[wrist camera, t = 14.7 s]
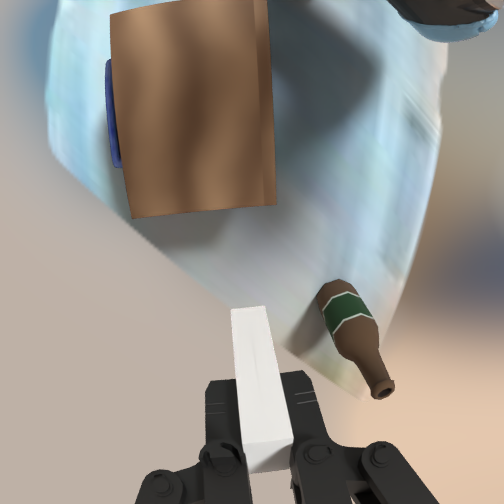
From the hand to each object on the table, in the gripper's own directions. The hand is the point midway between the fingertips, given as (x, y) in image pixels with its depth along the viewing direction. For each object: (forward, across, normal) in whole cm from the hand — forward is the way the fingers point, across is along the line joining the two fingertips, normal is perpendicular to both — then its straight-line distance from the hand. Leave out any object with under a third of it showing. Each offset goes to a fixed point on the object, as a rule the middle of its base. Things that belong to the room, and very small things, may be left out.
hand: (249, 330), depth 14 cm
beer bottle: (+35, +18, -25) cm, 46 cm away
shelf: (+34, -3, +10) cm, 36 cm away
